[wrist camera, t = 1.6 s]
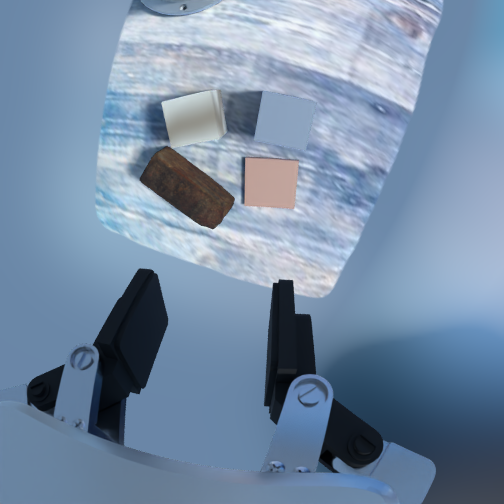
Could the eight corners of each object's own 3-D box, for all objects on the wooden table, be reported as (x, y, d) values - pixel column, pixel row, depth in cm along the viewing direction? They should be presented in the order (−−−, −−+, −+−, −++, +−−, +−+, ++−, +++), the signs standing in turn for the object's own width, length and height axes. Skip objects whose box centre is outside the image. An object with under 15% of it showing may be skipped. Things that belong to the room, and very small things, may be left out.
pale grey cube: (177, 99, 27) (161, 102, 23) (220, 89, 26) (210, 90, 22) (186, 139, 30) (171, 148, 26) (227, 131, 29) (219, 139, 25)
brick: (152, 168, 32) (136, 181, 28) (168, 144, 30) (153, 153, 26) (217, 217, 35) (210, 236, 31) (237, 196, 33) (231, 212, 30)
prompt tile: (245, 156, 30) (245, 157, 30) (298, 160, 30) (298, 161, 30) (244, 204, 34) (244, 205, 33) (293, 207, 33) (294, 208, 33)
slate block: (264, 90, 26) (262, 90, 22) (310, 100, 26) (316, 102, 22) (257, 132, 29) (253, 140, 25) (300, 141, 29) (305, 151, 25)
